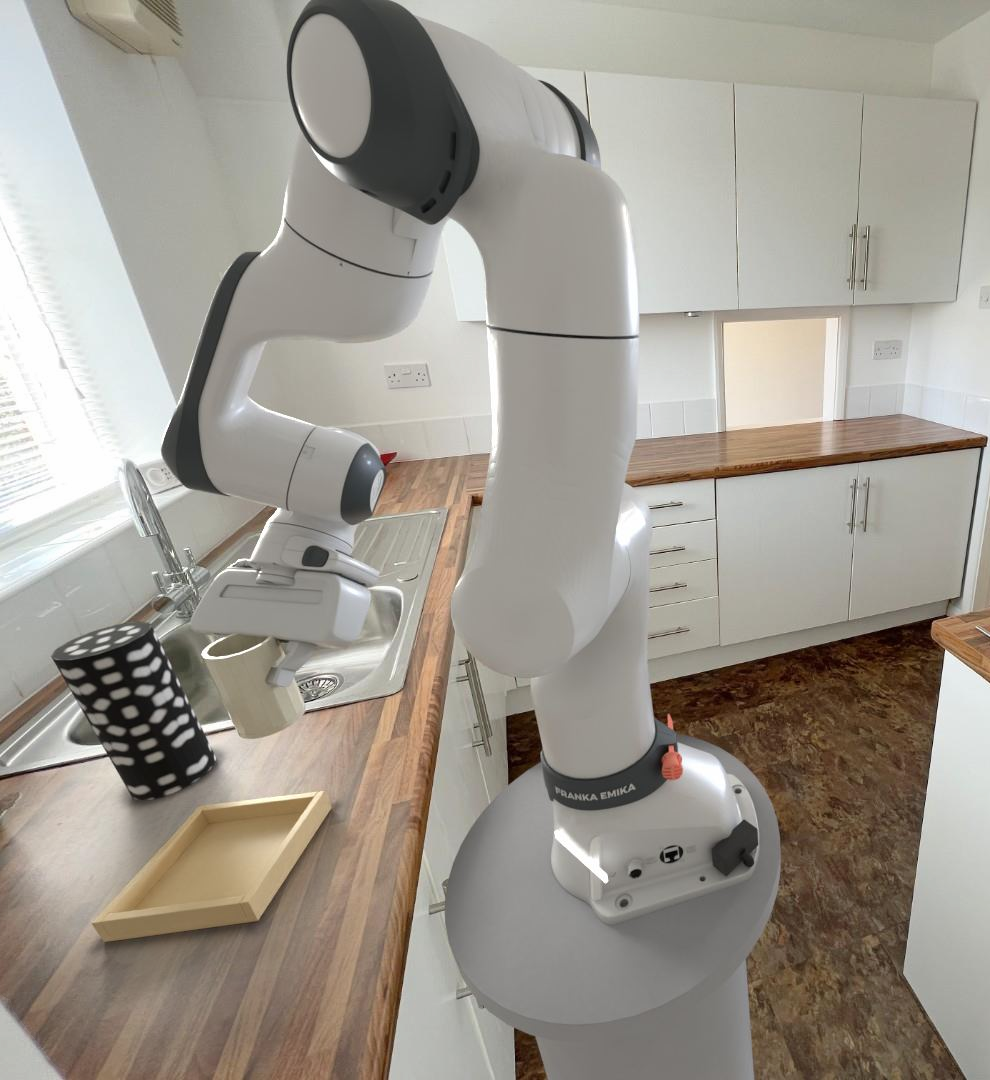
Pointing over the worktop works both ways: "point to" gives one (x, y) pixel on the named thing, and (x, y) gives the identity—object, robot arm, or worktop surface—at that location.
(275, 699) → the cup
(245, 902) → the tray
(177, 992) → the worktop surface
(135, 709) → the spotted tube
